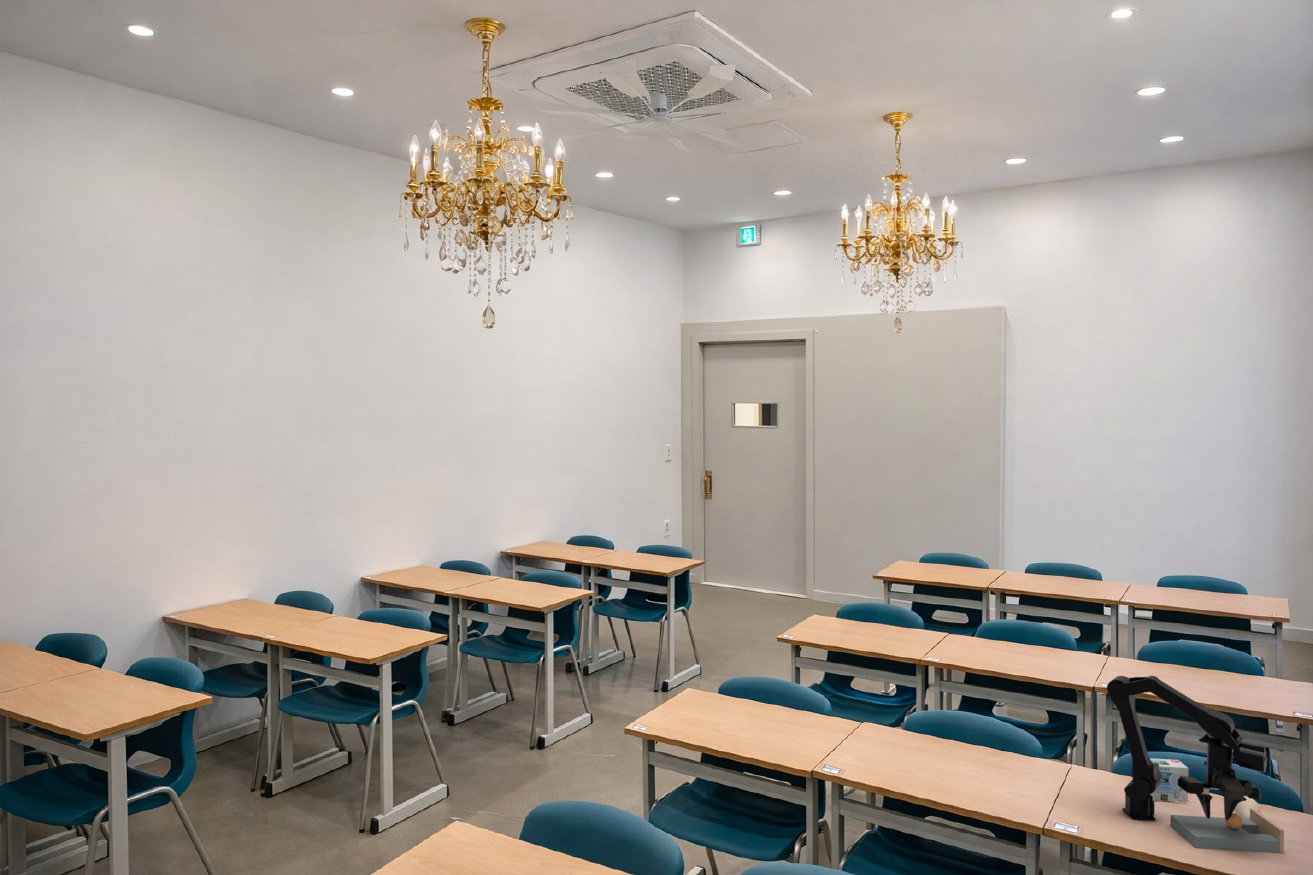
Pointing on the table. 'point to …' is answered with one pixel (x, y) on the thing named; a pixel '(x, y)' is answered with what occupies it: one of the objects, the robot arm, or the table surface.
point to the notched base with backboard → (1231, 833)
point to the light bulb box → (1170, 781)
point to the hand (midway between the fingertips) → (1217, 818)
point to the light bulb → (1246, 808)
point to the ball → (1234, 821)
